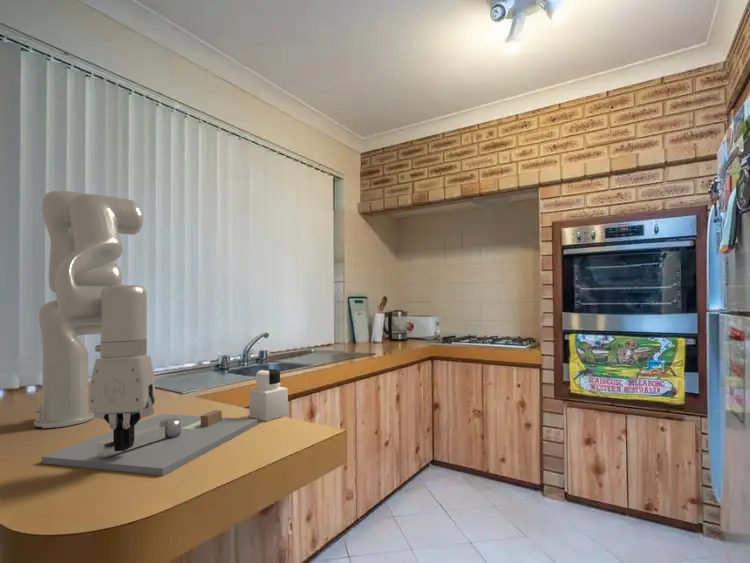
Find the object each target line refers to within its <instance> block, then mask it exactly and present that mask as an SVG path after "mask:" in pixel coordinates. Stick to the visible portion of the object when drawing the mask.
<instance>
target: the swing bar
mask: <svg viewBox="0 0 750 563" xmlns="http://www.w3.org/2000/svg"><path fill="white" fill-rule="evenodd" d="M180 434H181V419H179V418H170V419H165V420H162V421H160V425H156V426H153V427H149V428H146V429H142V430H139V431H135V432H134V443H133V446H132V447H130V448H129V449H127V450H130V449H133V448H136V447H139V446H142V445H145V444H148V443H151V442H154V441H157V440H161V439H164V438H171V437H175V436H178V435H180ZM125 451H126V450H125ZM120 452H123V451H114V443H113V438H111V439H108V440H104V441H101V442H97V456H100V457H103V458H105V457H108V456H111V455H114V454H117V453H120Z"/></svg>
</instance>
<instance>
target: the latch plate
mask: <svg viewBox="0 0 750 563" xmlns="http://www.w3.org/2000/svg"><path fill="white" fill-rule="evenodd" d="M222 413H223V412H222V410H218V409H217V410H216V409H215V410H211V411H209V412H207V413H204V414H202V415H187V414H186V415H185V414H168V413H166V414H164V413H161V414H158V415H156V416H153V417H150V418H147V419H145V420H142V421H138V423H137V424H136V425H134V432H135V431H139V430H142V429H146V428H149V427H153V426H156V425H160V421H162V420H165V419H170V418H179V419H181V434H180V435H178V436H175V437H171V438H164V439H161V440H157V441H154V442H151V443H148V444H145V445H142V446H139V447H136V448H133V449H130V450H126V451H123V452H120V453H117V454H114V455H111V456H108V457H105V458H103V457H100V456H97V442H101V441H104V440H108V439H111V438H113V437H114V430H113V431H110V432H108V433H104V434H101V435H98V436H95V437H93V438H90V439H88V440H85V441H83V442H82V441H81V442H79V443H77V444H74V445H69V446H67V447H64V448H61V449H59V450H57V451H54V452H51V453H49V454H44V455H42V456H41V459H40V460H41V464H46V465H56V466H57V465H58V466H67V467H76V468H85V469H87V468H88V469H95V470H96V469H97V470H104V471H115V472H124V473H133V474H143V475H152V476H160V477H161V476H165V475H168V474H169V473H171V472H173V471H174V470H176V469H179V468H180V467H182V466H184V465H186V464H188V463H189V462H191V461H193V460H195V459H196V458H199V457H200V456H202V455H204V454H206V453H208V452H210V451H211V450H213V449H215V448H217V447H219V446H220V445H223V444H224V443H227V442H228V441H230V440H232V439H234V438H235V437H237V436H239V435H241V434H243V433H245V432H247V431H249V430H250V429H252V428H254V427H256V426H257V424H258V421H259V420H258V419H254V418H241V417H240V418H237V417H223V416H222V415H223V414H222ZM255 425H256V426H255ZM253 426H254V427H253ZM251 427H252V428H251ZM246 430H247V431H246Z"/></svg>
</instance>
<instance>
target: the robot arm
mask: <svg viewBox="0 0 750 563" xmlns="http://www.w3.org/2000/svg"><path fill="white" fill-rule="evenodd" d="M41 212H42V218H43V220H44V224H45V227H46V230H47V232H48V235H49V239H50V247H49V265H48V266H49V267H48V268H49V269H48V286H49V289H50V290H51V291H52V292H53V293H55V295H56V300H52V301H48V302H47V303H44V304H43V305H42V306H40V309H39V312H38V321H39V322H38V323H39V328H40V334H41V341H42V342H41V344H42V382H41V384H42V387H41V388H42V389H41V391H42V393H41V395H42V396H41V399H42V400H41V405H40V406H39V407H36V408H35V409H34V413H35V414H39V415H40V416H39V418H36V420H34V421H33V427H34V426H36V427H42V428H41V429H53V428H55V427H56V428H61V427H63V428H64V427H69V426H73V425H79V424H82V423H85V422H89V421H90V420H93V419H94V418H96V419H100V420H105V422H107V423H108V425H109V428H110V430H113V431H114V437H113V443H114V451H125V450H127V449H129V448H130V447H132V446H133V443H134V425H136V424H137V423H138V422H140V420H141V419H143V418H146V417H150V416H152V415H154V413H155V409H154V407H153V406H154V404H155V402H156V400H155V399H156V397H155V396H156V386H155V384H156V383H155V375H154V369H153V367H154V366H153V363H152V358H151V356H150V355H148V350H147V349H148V342H147V341H148V337H147V336H148V322H147V320H148V318H147V317H148V316H147V315H148V310H147V309H148V298H147V297H148V294H147V290H146V288H145V287H144V286H141V285H134V284H123V277H122V271H121V268H120V266H119V265H118V264H117V263H116V262H115V261H117V260H118V259H119V258H120V257H121V256H122V254H123V250H124V249H123V244H122V240H121V237H120V234H122V235H130V236H133V235H134V236H135V235H137V234H138V233H139V232H140V231H141V229H142V228H143V226H144V225H143V224H144V214H143V212H142V208H141V207H140V205H139V204H138V203H137V202H136V201H134V200H132V199H127V198H120V197H114V196H107V195H103V194H94V193H85V192H84V193H83V192H77V191H68V190H52V191H48V192H47V193H45V195H44V196H43V199H42V204H41ZM85 335H86V336H87V335H88V336H89V335H100V342H99V344H97V345H95V347H94V350H95V352H96V353H99V355H100V358H96V359H95V362H94V366H93V368H92V369H93V370H92V374H91V379H90V388H89V352H88V349H87V347H86V346H85V344H83V343H82V342H81V341H80V340H79V339H78V338H77V337H79V336H85ZM88 409H89V410H88ZM36 427H35V428H36Z"/></svg>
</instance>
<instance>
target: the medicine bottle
mask: <svg viewBox="0 0 750 563" xmlns="http://www.w3.org/2000/svg"><path fill="white" fill-rule="evenodd" d="M255 376H256V385H255V386H256V388H252V389H249V390H248V391H249V393H248V394H249V395H248V396H249V397H248V398H249V410H248V411H249V418H251V417H252V418H251V419H254V418H255V419H259V420H258V421H263V422H270V421H273V420H276V419H275V418H277V419H279V418H278V417H277V416H279V417H280V418H284V417H286V416H288V415H289V399H288V396H289V395H288V392H289V390H288V389H289V388H288V387H284V386H281V371H280V369H279V370H278V369H276V368H266V369H265V368H264V369H260V370H258V371H257V372H256V374H255ZM272 419H273V420H272ZM269 420H270V421H269Z"/></svg>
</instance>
